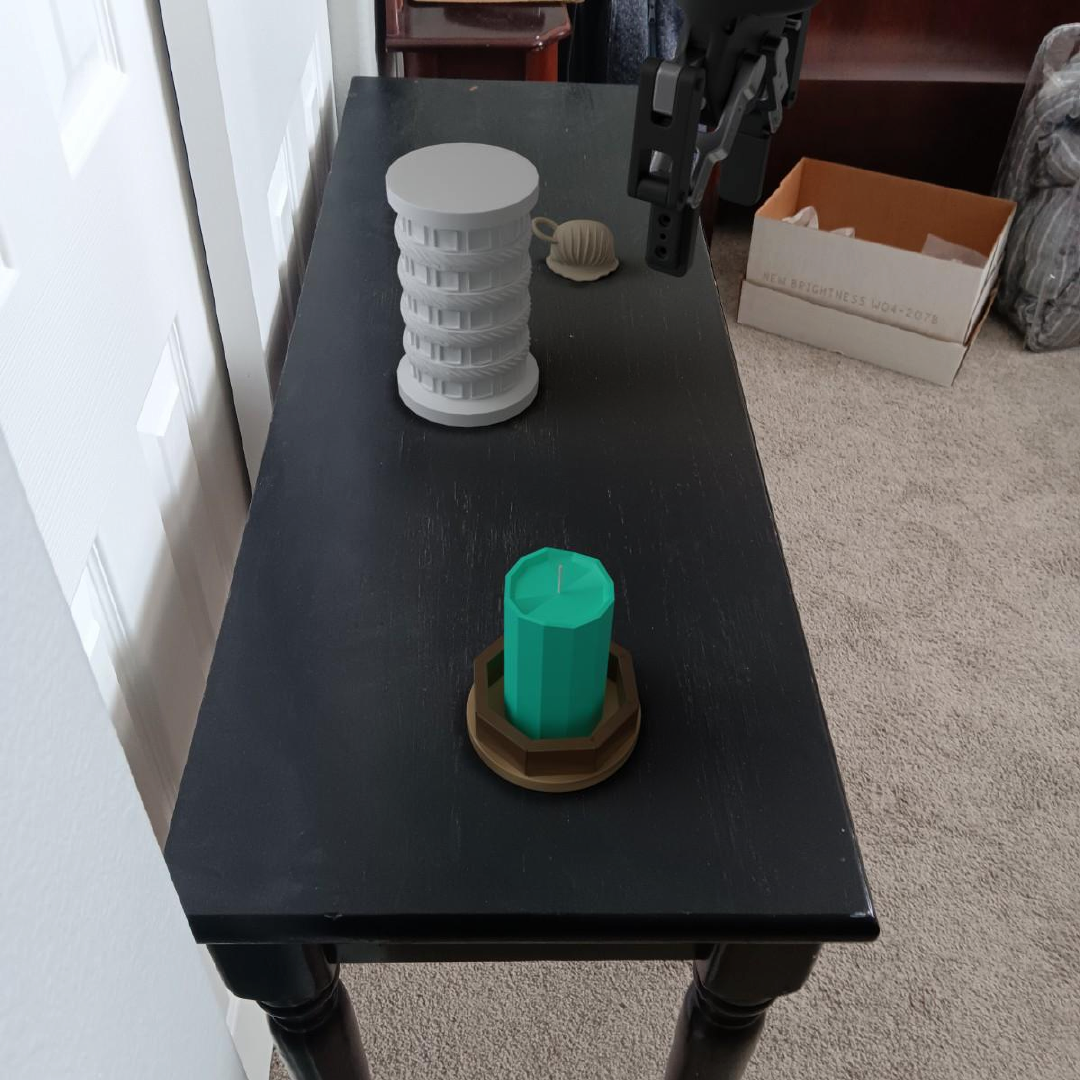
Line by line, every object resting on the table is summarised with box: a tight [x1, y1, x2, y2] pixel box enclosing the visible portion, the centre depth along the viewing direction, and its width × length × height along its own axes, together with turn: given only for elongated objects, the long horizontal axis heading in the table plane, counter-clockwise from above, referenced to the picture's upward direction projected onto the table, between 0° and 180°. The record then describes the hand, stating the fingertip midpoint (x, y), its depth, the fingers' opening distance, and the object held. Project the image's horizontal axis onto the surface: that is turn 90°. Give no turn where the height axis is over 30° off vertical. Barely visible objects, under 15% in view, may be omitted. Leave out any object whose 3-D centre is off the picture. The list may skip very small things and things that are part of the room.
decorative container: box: [385, 142, 540, 428], centre depth 82 cm, size 12×12×18 cm
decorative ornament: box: [531, 216, 620, 283], centre depth 100 cm, size 4×8×5 cm, turn 88°
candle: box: [503, 546, 616, 740], centre depth 60 cm, size 6×6×12 cm
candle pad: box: [466, 633, 642, 793], centre depth 64 cm, size 10×10×4 cm
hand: (704, 233), depth 55 cm, fingers open, 8 cm apart
